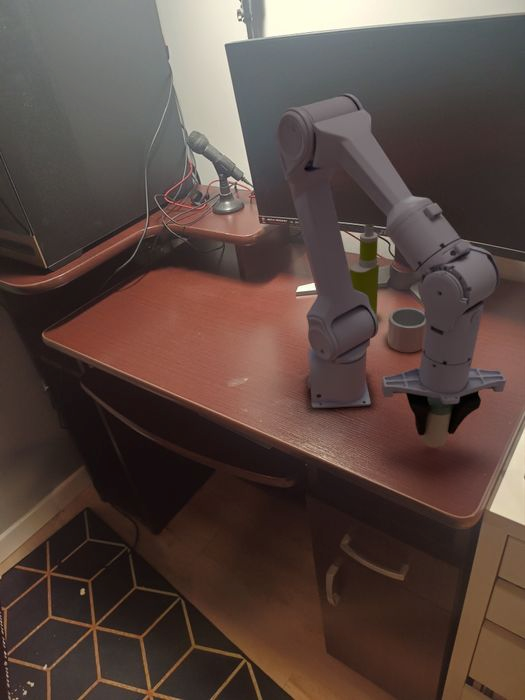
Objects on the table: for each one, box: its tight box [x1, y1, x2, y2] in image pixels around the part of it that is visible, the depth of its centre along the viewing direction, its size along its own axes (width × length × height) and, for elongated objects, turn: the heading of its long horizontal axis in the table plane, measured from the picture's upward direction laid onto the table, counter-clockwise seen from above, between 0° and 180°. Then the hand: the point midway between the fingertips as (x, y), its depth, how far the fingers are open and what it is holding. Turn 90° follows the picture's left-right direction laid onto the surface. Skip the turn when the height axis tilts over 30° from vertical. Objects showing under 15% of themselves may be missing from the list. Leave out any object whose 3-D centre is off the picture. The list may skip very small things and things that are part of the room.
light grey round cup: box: [387, 306, 426, 353], centre depth 86 cm, size 7×7×6 cm
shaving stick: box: [419, 397, 454, 448], centre depth 62 cm, size 4×4×8 cm
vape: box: [349, 223, 380, 316], centre depth 88 cm, size 4×6×20 cm, turn 129°
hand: (434, 429), depth 63 cm, fingers closed on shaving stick, 3 cm apart
